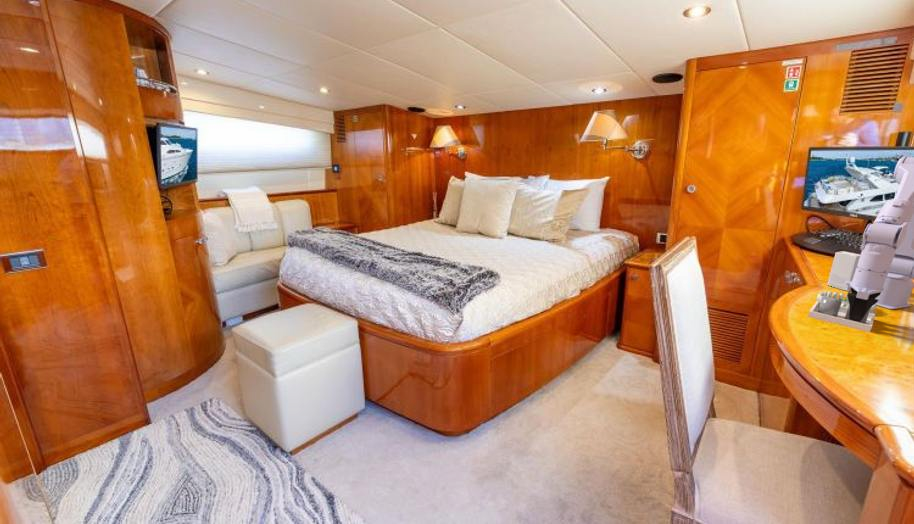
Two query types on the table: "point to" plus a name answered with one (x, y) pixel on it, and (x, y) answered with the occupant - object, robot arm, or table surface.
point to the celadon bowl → (844, 302)
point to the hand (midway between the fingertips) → (855, 317)
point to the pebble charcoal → (861, 320)
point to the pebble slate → (829, 306)
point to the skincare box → (843, 270)
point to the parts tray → (842, 318)
